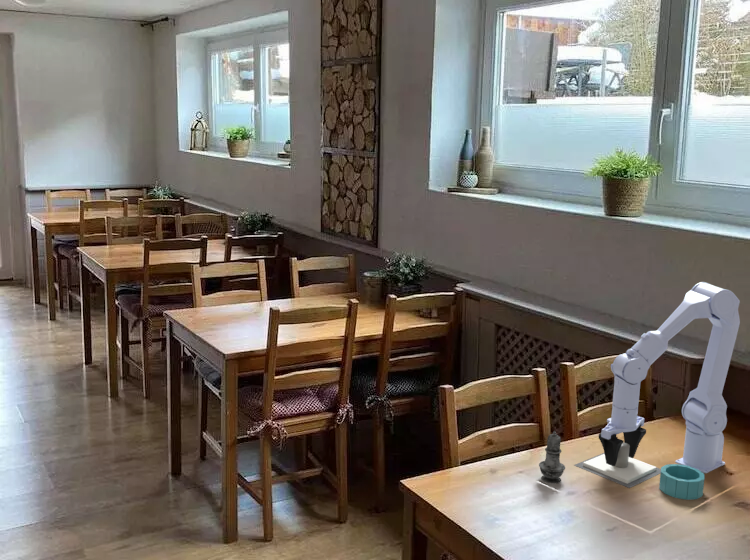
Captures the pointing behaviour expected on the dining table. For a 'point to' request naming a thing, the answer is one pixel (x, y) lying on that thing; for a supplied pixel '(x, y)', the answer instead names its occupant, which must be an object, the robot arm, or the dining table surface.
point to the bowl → (681, 481)
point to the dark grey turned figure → (552, 461)
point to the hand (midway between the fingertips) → (620, 460)
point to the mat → (616, 479)
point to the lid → (621, 466)
